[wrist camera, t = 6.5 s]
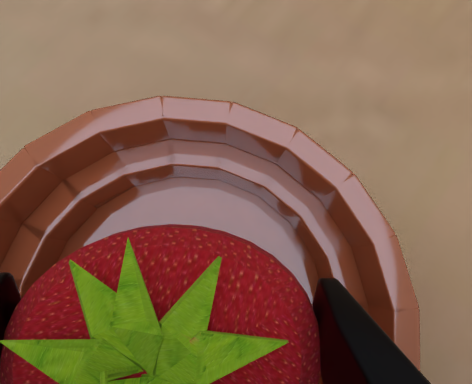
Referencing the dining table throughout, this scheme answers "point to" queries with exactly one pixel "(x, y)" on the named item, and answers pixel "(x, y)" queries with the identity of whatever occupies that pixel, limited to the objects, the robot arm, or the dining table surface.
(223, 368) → the strawberry
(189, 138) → the pot
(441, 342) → the dining table surface
